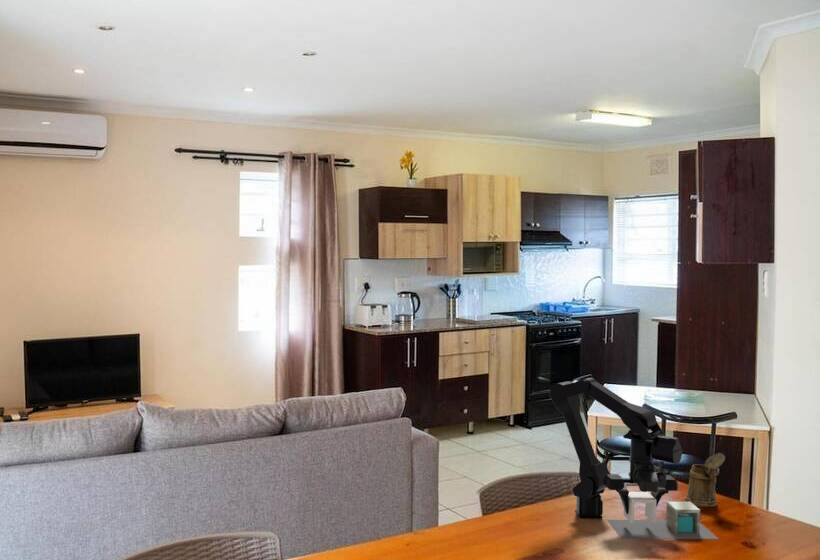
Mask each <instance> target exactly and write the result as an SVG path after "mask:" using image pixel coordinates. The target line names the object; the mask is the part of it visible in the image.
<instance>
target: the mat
mask: <svg viewBox="0 0 820 560" xmlns="http://www.w3.org/2000/svg"><path fill="white" fill-rule="evenodd" d="M606 522H607V523H609V525H610V526H611V528H612V529H613V530H614V531H615V532H616V533H617V535H618V536H619V538H621V539H644V540H645V539H647V540H648V539H650V540H651V539H655V540H656V539H661V540H662V539H663V540H667V539H668V540H670V539H671V540H672V539H673V540H674V539H676V540H719V537H717V535H715V534H714V533H713V532H712V531H711V530H709V528H707V527H706V526H705V525H704V524H703V523H701V522H700V531H699V534H697V533H696V532H694V531H693V532H678V533H674V532H673V531H672V530H671V529H670V528H669V527H668V526H667V525H666V519H656V524H653V523H652V522H651V521H650V520H649V519H634V524H633V523H631V522H630V521H629V520H628V519H606Z"/></svg>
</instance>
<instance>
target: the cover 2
mask: <svg viewBox="0 0 820 560" xmlns="http://www.w3.org/2000/svg"><path fill="white" fill-rule="evenodd" d="M678 512H679V513H689V514H690V515H691V516H692V517H693V531H694V532H696V533H697V534H699V531H700V523H701V509H700V508H698V506H695V505H694V504H693V503H691V502H685V501H666V516H665V517H666V519H665V520H666V525H667V526H668V527H669V528H670V529H671V530H672V531H673V532H674V533H678Z"/></svg>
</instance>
